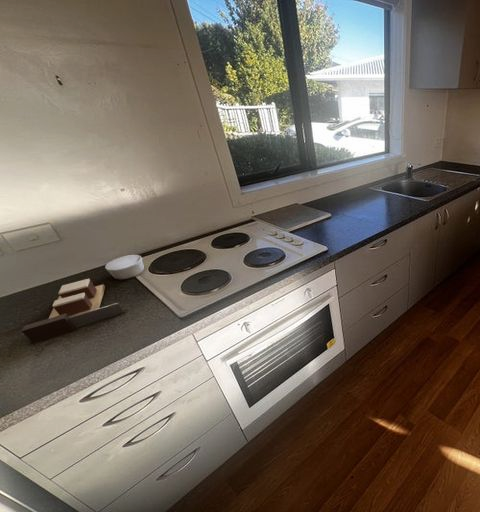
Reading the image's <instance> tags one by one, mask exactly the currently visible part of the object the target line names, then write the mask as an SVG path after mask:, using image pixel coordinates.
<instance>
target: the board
mask: <svg viewBox="0 0 480 512" xmlns="http://www.w3.org/2000/svg"><path fill="white" fill-rule="evenodd" d="M95 288H96V289H97V291H96V294H95V297H94V298H91V299H89V300H90V301H91V303H92V308H91V310H87V311H84V312H81V313H77V314H74V315H71V316H69V317H72V316H75V315H79V314H82V313H85V312H89V311H92V310H95V309H99V308H101V303H102V300H103V298H104V297H103V296H104V292H105V290H106V286H105V285H104V284H99V285H96V286H95ZM59 299H62V298H61V296H60V295H59V296H58V298H57V300H59ZM56 316H59V314H58V313H57V311H56V310H55V309H54V307H52V310H51V312H50V314H49V317H48V319H49V318H52V317H56Z"/></svg>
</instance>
